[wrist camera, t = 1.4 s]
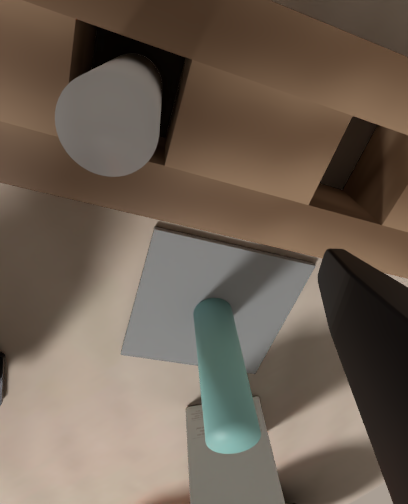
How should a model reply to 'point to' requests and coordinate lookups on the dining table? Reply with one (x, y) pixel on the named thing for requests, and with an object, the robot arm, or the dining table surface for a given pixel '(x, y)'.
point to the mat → (210, 296)
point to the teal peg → (223, 380)
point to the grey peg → (112, 116)
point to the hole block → (223, 122)
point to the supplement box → (230, 467)
